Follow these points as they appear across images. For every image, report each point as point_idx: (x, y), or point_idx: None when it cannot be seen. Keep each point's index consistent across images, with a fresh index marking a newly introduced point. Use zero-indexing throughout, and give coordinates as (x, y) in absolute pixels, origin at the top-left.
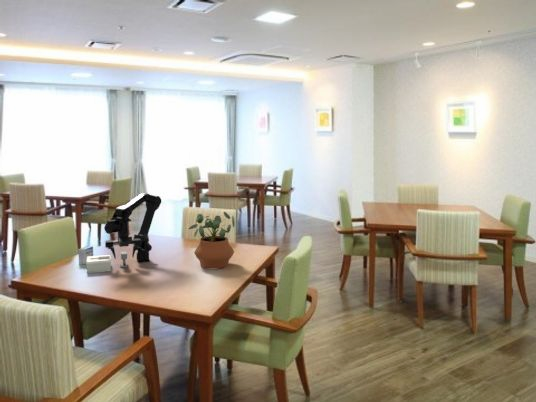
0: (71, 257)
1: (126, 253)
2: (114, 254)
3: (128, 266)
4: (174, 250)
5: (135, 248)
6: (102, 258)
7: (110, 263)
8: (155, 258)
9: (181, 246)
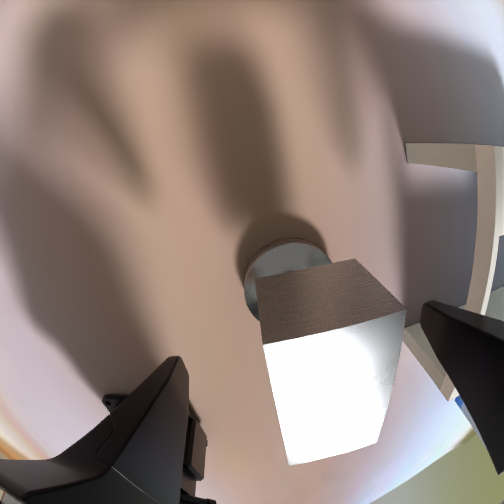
0: None
1: (278, 373)
2: (481, 322)
3: (244, 285)
4: None
5: (61, 464)
6: None
7: (463, 144)
8: None
9: None
